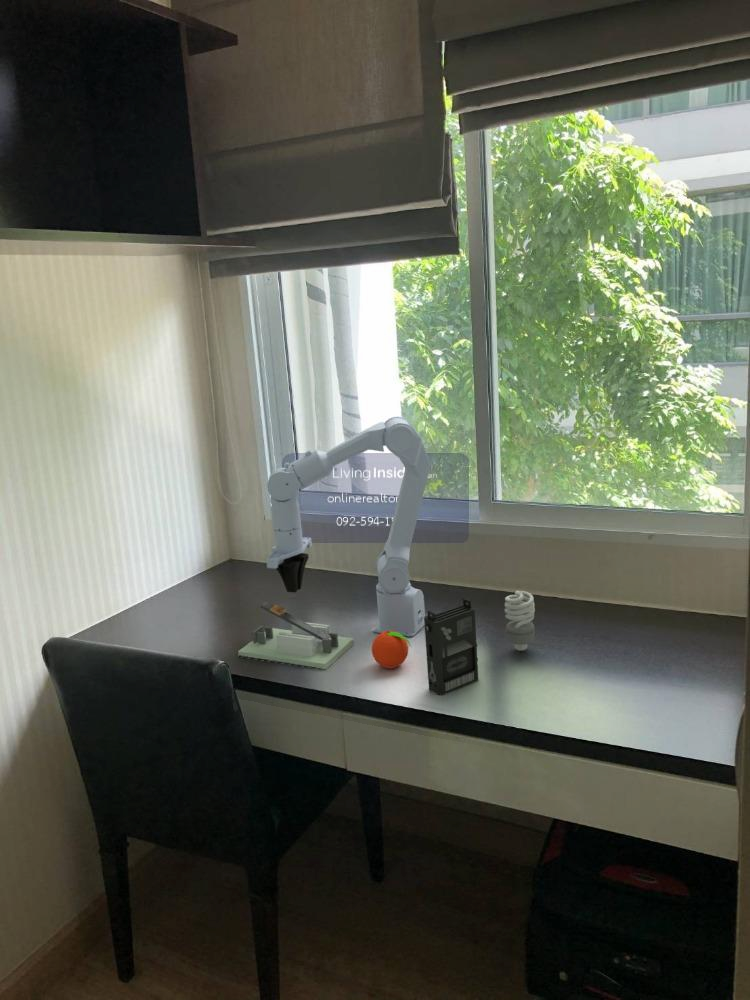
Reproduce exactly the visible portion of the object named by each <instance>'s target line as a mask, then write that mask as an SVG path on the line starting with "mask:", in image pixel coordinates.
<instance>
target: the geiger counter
mask: <svg viewBox="0 0 750 1000" xmlns="http://www.w3.org/2000/svg"><path fill="white" fill-rule="evenodd" d="M462 601H463V602H462V603H460V604H458V606H455V607H452V608H449V609H446V610H443V611H441V612H438V613H435V612H433V611H431V610H426V612H427V613H426V614H427V615H425V617H424V624H425V625H424V636H425V637H424V639H425V650H426V663H427V664H426V665H427V679H428V690H429V691H430V692H432V693H433V694H435V695H437V696H444V695H447V694H450V693H452V692H454V691H456V690H459V689H461V688H464V687H466V686H468V685H471V684H473V683H475V682H479V667H478V665H479V664H478V660H479V658H478V649H477V648H478V643H477V627H476V609H475V607H472V603H471V600H470V599H467V598H465V597H464V598H463V599H462Z"/></svg>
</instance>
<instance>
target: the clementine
mask: <svg viewBox="0 0 750 1000" xmlns="http://www.w3.org/2000/svg"><path fill="white" fill-rule="evenodd" d="M408 644H409V645H408ZM409 646H410V647H411V648H412V645H411V643H410V640H408V638H407V637H406V636H403V635H401V634H400V633H398V632H395V631H384V632H382V633H379V634H378V635H376V637H375V639H374V640H373V642H372V645H371V654H372V657H373V659H374V661H375V662H376V663H377V664H378V665H379V666H381V667H383V668H385V669H394V668H397V667H400V666H401V665H402V664H403V663H404V662H405V661H406V659H407V657H408V655H409Z"/></svg>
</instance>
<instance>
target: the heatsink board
mask: <svg viewBox="0 0 750 1000" xmlns="http://www.w3.org/2000/svg"><path fill="white" fill-rule="evenodd" d="M304 622H305V621H304ZM305 623H307V624H309V625H311V626H313V627H314V628H316V629H318V630H320V631H322V632H324V633H326V634H328V635H330V636H333V637H334V640H333V641H332V642H330V639H324V638H323V639H322V640H320V639H319V638H317V637H315V636H313V635H311V634H309V633H307V632H305V631H304V630H302V629H300V628H298V627H296V626H294V625H292V624H291V629H281V628H275V627H273V626H267V625H265V626H264V625H260V626H259V627H257V628H255V630H252V632H251V634H252V641H250V642H249V643H247V644H246V645H245V646H243V647H242V648H240V649H239V650H238V651H237V652H238V656H239V655H242V656H243V655H244V656H248V657H254V658H261V659H269V660H276V661H282V662H289V663H295V664H301V665H306V666H312V667H317V668H316V669H318V668H322V669H321V670H324V669H326V670H327V669H329V667H330V666H331V665H333V664H334V663H335V662H336V661H337V660H338V659H339V658H340V657H342V655H344V654H345V653H346V652H347V651H348V650H349V649H350V648H352V646H353V645H354V644H355V638H353V637H345V636H338V633H336V632H331V627H330V625H329V624H322V623H313V622H305Z"/></svg>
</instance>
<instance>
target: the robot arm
mask: <svg viewBox="0 0 750 1000" xmlns="http://www.w3.org/2000/svg"><path fill="white" fill-rule="evenodd" d="M384 447H386V449H387V450H388V451H389V452H390V453H391V454H393V455H394V456H396V458H398V459H399V460H400V462H401V463H402V464H403V467H405V468H404V472H403V477H402V481H401V485H400V490H399V494H398V497H397V502H396V505H395V509H394V513H393V517H392V521H391V526H390V531H389V534H388V538H387V540H386V542H385V544H384V547H383V550H382V551H381V553H380V555H378V557H377V559H376V561H375V569H376V572H377V575H378V576H377V577H378V583H377V584H376V585H375V590H376V600H377V601H376V602H377V613H378V623H377V624H376V625H375V626H374V627H373V628H371V631H372V632H373V633H379V634H381V633H382V632H384V631H395V632H398V633H400V634H401V635H403V636H404V637H415V636H416V634H417V633H418V632H419V631H420V630H421V629H422V628H423V627H425V624H424V617H425V616H426V611H425V609H426V608H425V596H424V593H423V591H422V589H418V588H415V587H413V586H412V584H411V582H410V574H409V563H410V555H411V554H410V553H411V552H410V551H411V545H412V542H413V541H412V540H413V537H414V534H415V529H416V526H417V522H418V519H419V518H418V517H419V513H420V510H421V509H420V508H421V506H422V502H423V497H424V494H425V490H426V485H427V481H428V477H429V474H430V469H431V461H430V458H429V456H428V454H427V451H426V447H425V446H424V443H423V439H422V437H421V435H420V434H418V432H417V430H416V429H415V428H414V426H412V424H411V423H410V422H409V421H408V420H407V419H406V418H405V417H401V416H392V417H390V418H388V419H387V420H386V421H380V422H377V423H376V424H374V425H371V426H370V427H368V428H365V429H364V430H362V431H359V432H358V433H357V434H355V435H353V436H352V437H350V438H348V439H347V440H345V441H343V442H341V443H339V444H337V445H336V446H334V447H332V448H330V449H328V450H327V451H323V450H320V449H316V450H314V451H312V450H311V449H308V450H306V451H305V452H304V456H302V457H300V458H298V459H297V460H294V461H292V462H291V463H289V462H285V463H284V464H283V467H278V468H276V469H274V470H273V471H272V472H271V474H270V475H269V477H268V481H267V483H266V484H267V485H266V486H267V491H268V494H269V496H270V499H269V500H270V501H269V502H270V504H271V506H270V512H271V513H270V514H271V521H272V522H271V523H272V530H273V539H274V540H273V541H274V546H272V547H271V548H270V550H271V554H270V555H269V557H267V558H266V560H265V561H266V567H267V569H273V570H275V569H276V571H277V572H278V574H279V575H280V577H281V580H282V582H283V584H284V587H285V590H286V593H294V594H295V593H297V592H298V591H299V590H301V589H302V586H303V585H302V583H303V577H304V571H305V568H306V565H307V562H308V560H309V553H306V552H305V550H306V548H307V549H308V548H309V549H310V548H312V547H313V542H312V538H311V537H307V536H306V537H303V530H302V521H301V511H300V504H299V501H298V493H297V491H298V490H304V489H306V488H309V487H310V486H312V485H313V484H316V483H318V482H319V481H321V480H324V479H325V478H327V477H329V476H331V474H332V471H333V468H334V467H335V466H337V465H339V464H341V463H343V462H345V461H347V460H350V459H352V458H354V457H356V456H358V455H361V454H362V453H364V452H367V451H377V452H385V449H384ZM304 552H305V553H304Z"/></svg>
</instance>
